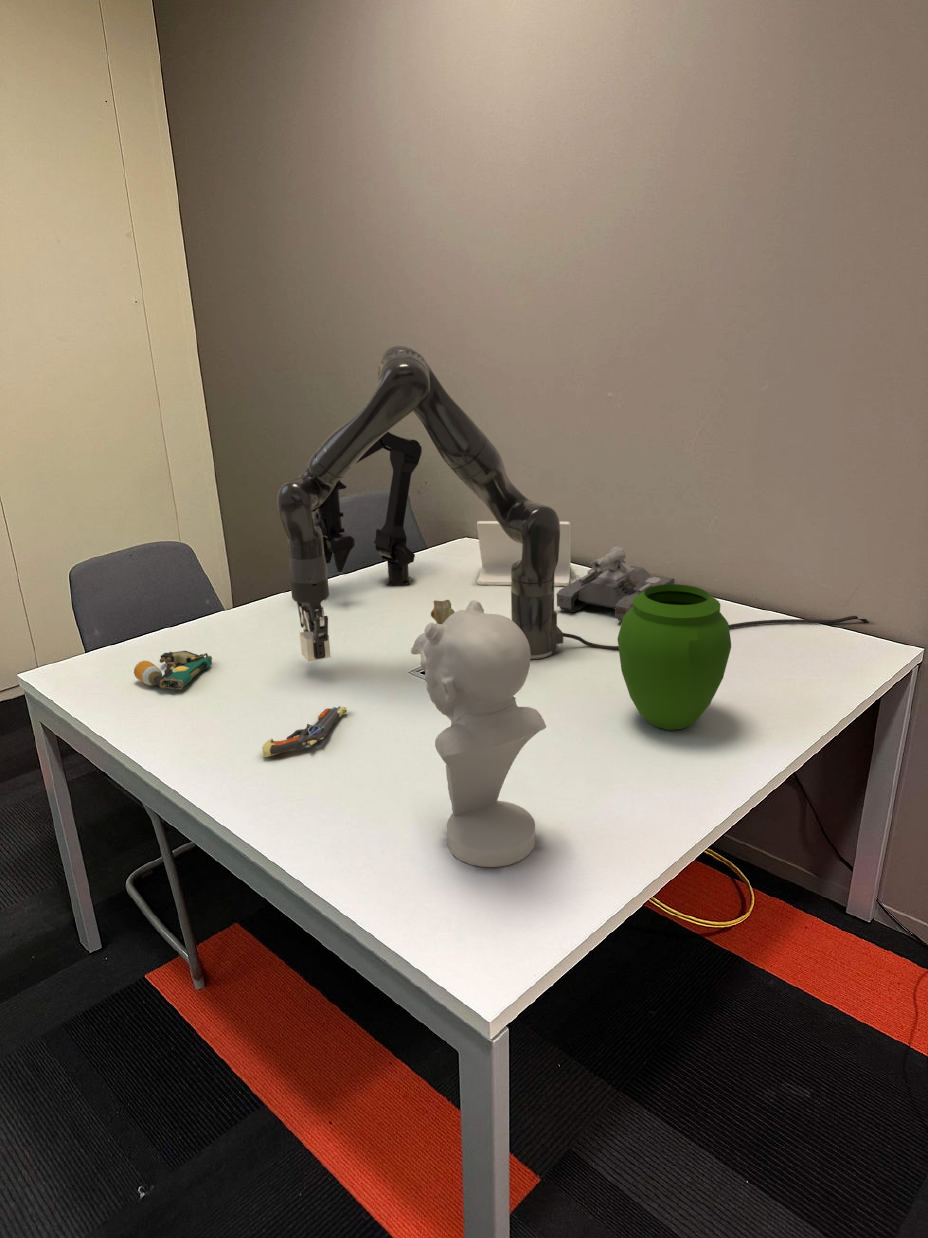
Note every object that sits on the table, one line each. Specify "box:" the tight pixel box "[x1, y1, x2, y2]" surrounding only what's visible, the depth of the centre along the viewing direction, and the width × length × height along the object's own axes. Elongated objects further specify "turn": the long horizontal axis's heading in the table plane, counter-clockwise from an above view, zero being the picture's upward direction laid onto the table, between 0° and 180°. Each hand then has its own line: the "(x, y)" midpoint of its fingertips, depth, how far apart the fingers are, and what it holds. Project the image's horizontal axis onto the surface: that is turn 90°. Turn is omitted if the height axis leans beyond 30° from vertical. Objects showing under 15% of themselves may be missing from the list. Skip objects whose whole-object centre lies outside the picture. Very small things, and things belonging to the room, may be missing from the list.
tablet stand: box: [476, 520, 572, 587], centre depth 236 cm, size 18×25×17 cm
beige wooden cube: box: [299, 631, 331, 663], centre depth 178 cm, size 5×5×5 cm
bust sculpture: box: [410, 599, 547, 868], centre depth 121 cm, size 16×24×35 cm
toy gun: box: [261, 705, 348, 758], centre depth 154 cm, size 3×19×10 cm
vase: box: [616, 583, 732, 731], centre depth 151 cm, size 20×20×24 cm
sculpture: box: [430, 599, 456, 624], centre depth 177 cm, size 6×7×15 cm
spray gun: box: [133, 650, 213, 690], centre depth 180 cm, size 4×17×15 cm
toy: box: [556, 546, 676, 622], centre depth 212 cm, size 25×20×15 cm
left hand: (333, 567), depth 221 cm, fingers open, 9 cm apart
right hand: (316, 653), depth 179 cm, fingers closed on beige wooden cube, 4 cm apart
